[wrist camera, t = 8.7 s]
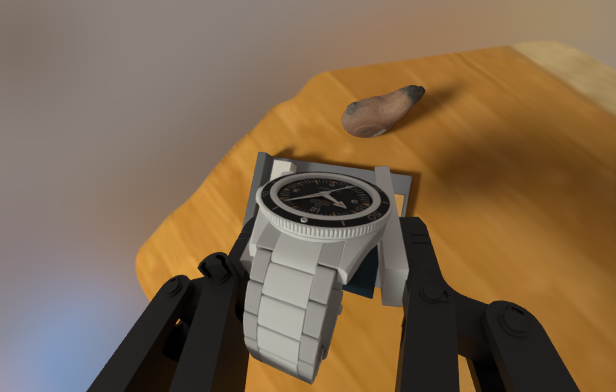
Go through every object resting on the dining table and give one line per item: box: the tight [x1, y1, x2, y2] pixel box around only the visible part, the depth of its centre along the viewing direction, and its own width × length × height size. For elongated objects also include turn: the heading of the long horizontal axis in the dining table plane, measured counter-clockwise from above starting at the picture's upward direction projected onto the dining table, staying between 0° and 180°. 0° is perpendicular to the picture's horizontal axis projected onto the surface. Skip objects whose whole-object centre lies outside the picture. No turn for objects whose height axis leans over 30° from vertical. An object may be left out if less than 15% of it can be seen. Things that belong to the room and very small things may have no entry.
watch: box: [243, 171, 393, 384], centre depth 11 cm, size 6×8×11 cm
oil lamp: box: [342, 85, 425, 138], centre depth 26 cm, size 9×4×8 cm, turn 97°
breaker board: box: [242, 152, 412, 288], centre depth 28 cm, size 20×14×4 cm
